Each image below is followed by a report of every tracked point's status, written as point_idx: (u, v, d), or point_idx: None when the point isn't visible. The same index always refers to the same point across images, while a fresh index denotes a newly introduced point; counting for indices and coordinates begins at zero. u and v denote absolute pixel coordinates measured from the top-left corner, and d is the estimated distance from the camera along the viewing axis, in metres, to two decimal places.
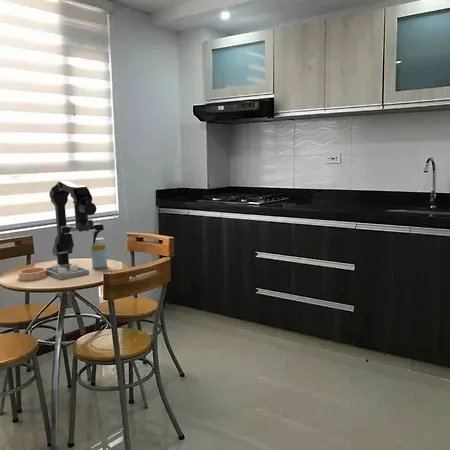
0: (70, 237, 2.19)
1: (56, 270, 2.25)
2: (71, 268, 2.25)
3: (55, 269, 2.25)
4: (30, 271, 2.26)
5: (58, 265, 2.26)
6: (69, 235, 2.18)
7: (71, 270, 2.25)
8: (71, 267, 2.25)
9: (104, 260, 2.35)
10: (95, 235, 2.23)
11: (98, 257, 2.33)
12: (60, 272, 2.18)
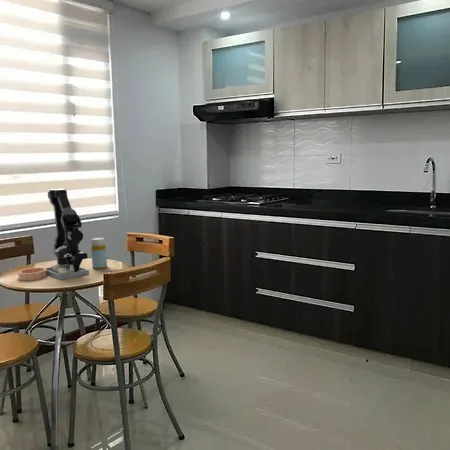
0: (67, 261, 2.27)
1: (56, 270, 2.25)
2: (71, 268, 2.25)
3: (55, 269, 2.25)
4: (30, 271, 2.26)
5: (58, 265, 2.26)
6: (65, 259, 2.27)
7: (71, 270, 2.25)
8: (71, 267, 2.25)
9: (104, 260, 2.35)
10: (73, 263, 2.23)
11: (98, 257, 2.33)
12: (60, 272, 2.18)
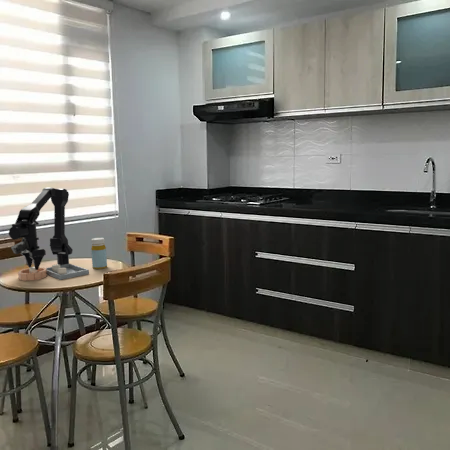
0: None
1: (56, 270, 2.25)
2: (30, 270, 2.22)
3: (55, 269, 2.25)
4: None
5: (58, 265, 2.26)
6: None
7: None
8: (30, 269, 2.21)
9: (104, 260, 2.35)
10: (33, 260, 2.18)
11: (98, 257, 2.33)
12: (60, 272, 2.18)
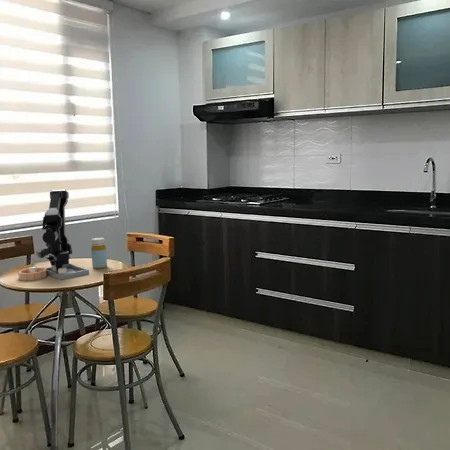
0: (50, 261, 2.28)
1: (56, 270, 2.25)
2: (30, 271, 2.22)
3: (55, 269, 2.25)
4: None
5: None
6: (48, 259, 2.27)
7: None
8: (30, 270, 2.21)
9: (104, 260, 2.35)
10: (55, 263, 2.23)
11: (98, 257, 2.33)
12: (60, 272, 2.18)
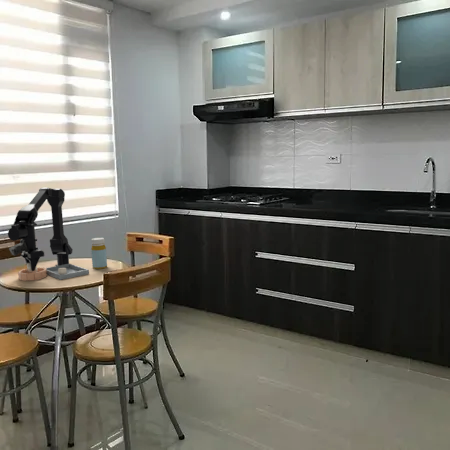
0: (25, 259, 2.20)
1: None
2: None
3: (30, 266, 2.17)
4: None
5: None
6: None
7: None
8: None
9: (104, 260, 2.35)
10: (29, 261, 2.15)
11: (98, 257, 2.33)
12: (60, 272, 2.18)
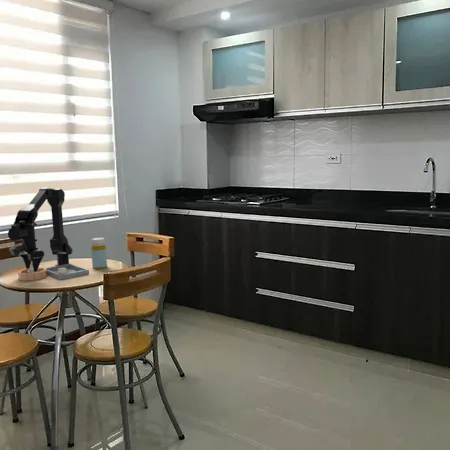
0: (22, 258, 2.22)
1: None
2: None
3: None
4: None
5: None
6: (20, 256, 2.21)
7: None
8: (30, 267, 2.23)
9: (104, 260, 2.35)
10: (32, 262, 2.13)
11: (98, 257, 2.33)
12: (60, 272, 2.18)
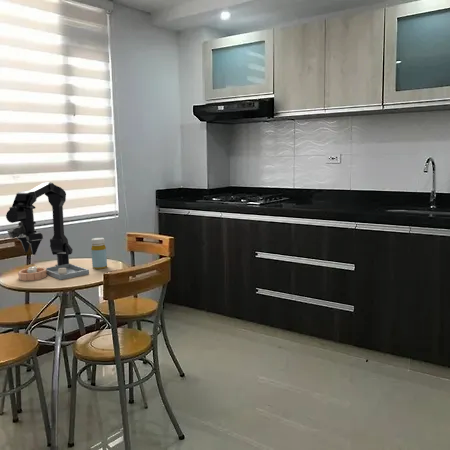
0: (21, 241, 2.21)
1: None
2: None
3: None
4: None
5: (34, 269, 2.18)
6: (19, 239, 2.20)
7: None
8: None
9: (104, 260, 2.35)
10: (30, 244, 2.12)
11: (98, 257, 2.33)
12: (60, 272, 2.18)
